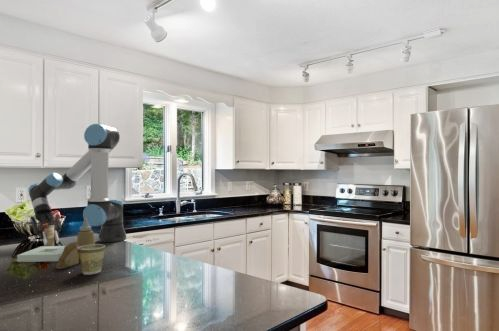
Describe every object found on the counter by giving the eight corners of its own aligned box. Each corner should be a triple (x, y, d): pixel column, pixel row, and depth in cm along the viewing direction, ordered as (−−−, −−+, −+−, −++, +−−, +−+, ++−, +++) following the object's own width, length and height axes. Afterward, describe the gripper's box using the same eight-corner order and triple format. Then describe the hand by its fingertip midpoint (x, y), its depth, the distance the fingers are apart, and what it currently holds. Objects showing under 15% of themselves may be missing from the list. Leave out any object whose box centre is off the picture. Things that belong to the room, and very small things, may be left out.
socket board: (77, 252, 178) (77, 245, 178) (58, 261, 160) (58, 254, 160) (40, 252, 178) (40, 246, 178) (17, 261, 160) (17, 255, 160)
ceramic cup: (95, 276, 136) (94, 249, 136) (71, 275, 138) (71, 249, 138) (114, 267, 149) (114, 242, 149) (93, 266, 151) (92, 242, 151)
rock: (58, 265, 144) (84, 257, 151) (51, 247, 147) (77, 240, 154) (54, 277, 151) (79, 269, 157) (48, 259, 154) (73, 251, 161)
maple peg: (56, 248, 188) (55, 224, 188) (51, 249, 184) (51, 226, 184) (47, 248, 188) (47, 225, 188) (42, 250, 184) (42, 226, 184)
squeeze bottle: (98, 256, 169) (98, 217, 169) (89, 260, 161) (89, 219, 161) (82, 255, 170) (82, 217, 170) (72, 260, 162) (72, 219, 162)
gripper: (58, 211, 204) (68, 244, 192) (21, 214, 191) (30, 250, 179) (61, 202, 200) (72, 235, 188) (23, 204, 187) (33, 240, 175)
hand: (51, 242), depth 184 cm, fingers open, 5 cm apart
